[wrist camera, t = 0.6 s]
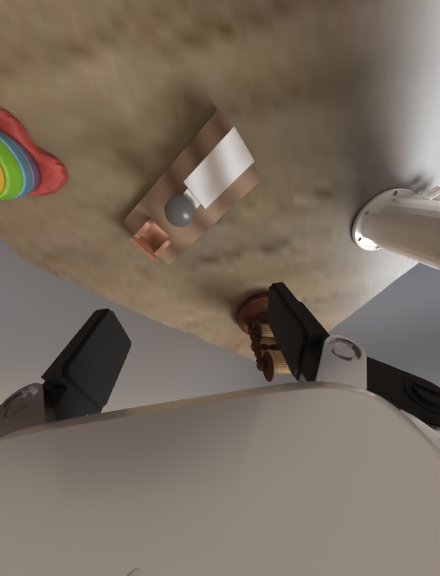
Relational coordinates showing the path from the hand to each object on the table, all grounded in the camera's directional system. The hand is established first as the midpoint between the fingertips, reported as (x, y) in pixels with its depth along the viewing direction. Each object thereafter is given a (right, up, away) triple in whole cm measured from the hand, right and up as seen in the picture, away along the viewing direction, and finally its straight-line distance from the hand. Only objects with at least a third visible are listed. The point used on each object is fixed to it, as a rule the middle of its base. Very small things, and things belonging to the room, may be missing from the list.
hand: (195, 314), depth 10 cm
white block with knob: (-2, +19, +20) cm, 28 cm away
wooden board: (-5, +18, +23) cm, 30 cm away
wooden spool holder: (+14, -5, +39) cm, 42 cm away
